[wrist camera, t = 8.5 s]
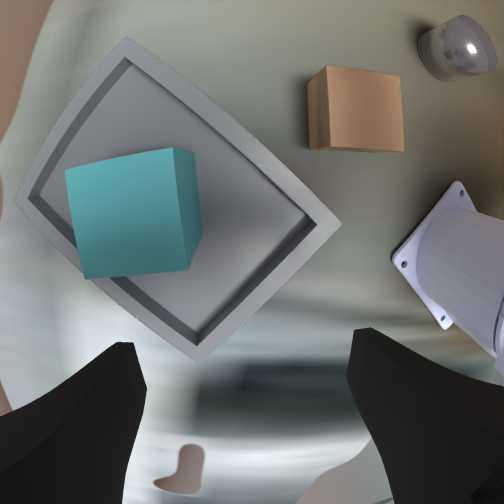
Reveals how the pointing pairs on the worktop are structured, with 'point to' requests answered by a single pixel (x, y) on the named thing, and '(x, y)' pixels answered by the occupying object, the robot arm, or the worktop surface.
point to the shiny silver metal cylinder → (457, 50)
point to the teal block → (136, 213)
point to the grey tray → (209, 189)
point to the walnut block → (355, 111)
